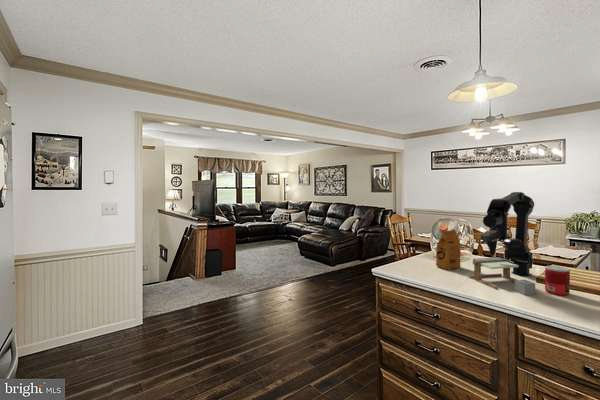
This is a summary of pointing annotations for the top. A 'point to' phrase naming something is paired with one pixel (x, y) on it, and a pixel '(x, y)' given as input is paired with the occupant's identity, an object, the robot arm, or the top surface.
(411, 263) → the top surface
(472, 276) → the frame
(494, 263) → the trapdoor
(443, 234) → the coffee package
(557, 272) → the canned food
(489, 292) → the top surface
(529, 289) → the stone
